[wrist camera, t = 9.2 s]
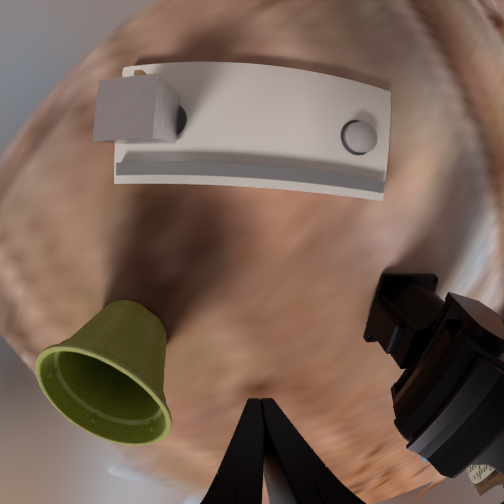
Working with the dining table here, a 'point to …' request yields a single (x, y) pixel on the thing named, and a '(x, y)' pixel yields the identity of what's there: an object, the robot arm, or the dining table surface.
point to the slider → (136, 110)
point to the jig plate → (266, 131)
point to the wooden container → (484, 477)
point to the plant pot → (111, 376)
